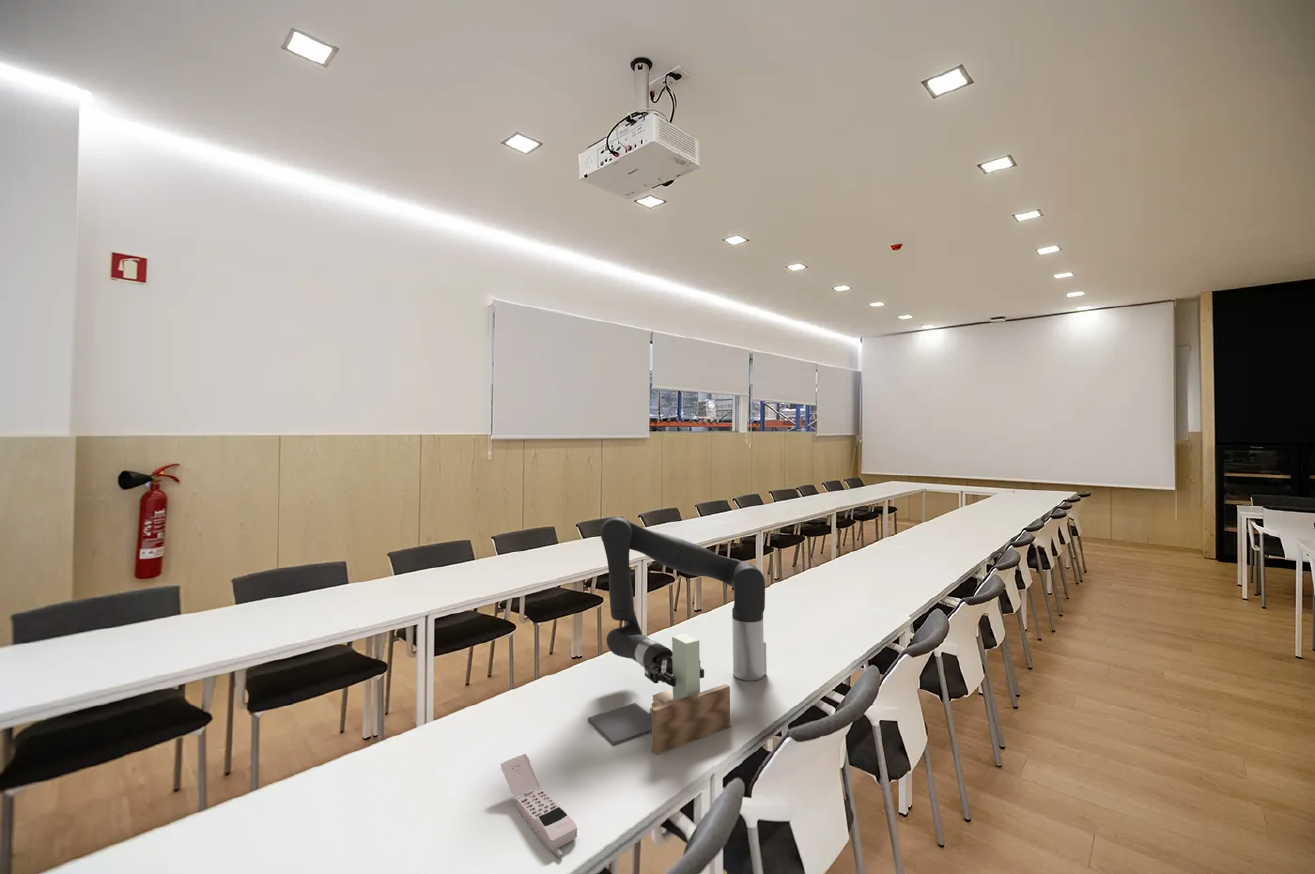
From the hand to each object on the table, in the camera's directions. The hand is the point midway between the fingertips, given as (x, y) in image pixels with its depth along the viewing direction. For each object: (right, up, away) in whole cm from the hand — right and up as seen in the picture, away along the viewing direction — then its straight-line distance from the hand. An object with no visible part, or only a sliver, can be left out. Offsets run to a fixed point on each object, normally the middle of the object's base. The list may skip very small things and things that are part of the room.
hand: (689, 678), depth 137 cm
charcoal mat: (-16, -13, +3) cm, 21 cm away
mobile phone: (-31, -13, -31) cm, 45 cm away
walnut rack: (-1, -13, -2) cm, 13 cm away
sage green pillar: (-1, -13, +1) cm, 13 cm away
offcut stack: (-5, -13, +9) cm, 16 cm away
